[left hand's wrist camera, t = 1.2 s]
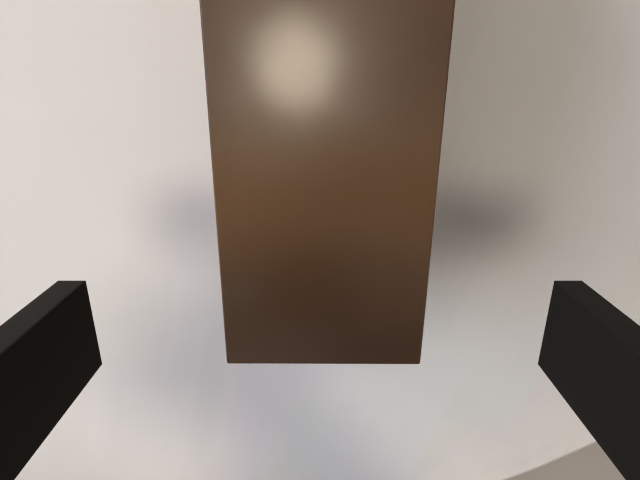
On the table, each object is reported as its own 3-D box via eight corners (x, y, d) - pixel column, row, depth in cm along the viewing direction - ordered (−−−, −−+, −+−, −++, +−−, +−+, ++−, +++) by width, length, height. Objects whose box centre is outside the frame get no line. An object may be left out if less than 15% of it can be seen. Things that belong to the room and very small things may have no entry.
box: (383, 261, 27) (420, 364, 17) (259, 260, 27) (226, 364, 17) (412, -231, 19) (509, -547, 9) (238, -233, 19) (156, -551, 9)
